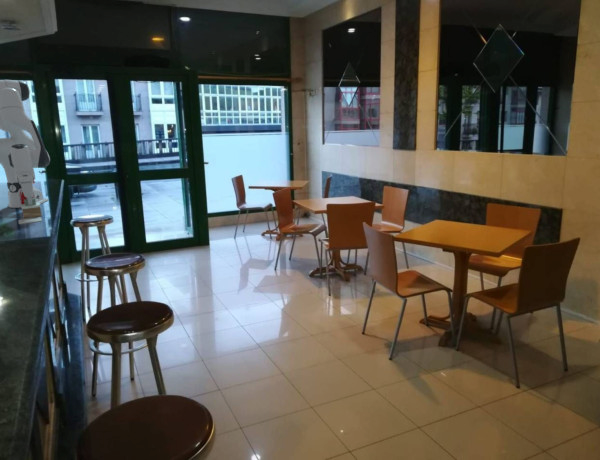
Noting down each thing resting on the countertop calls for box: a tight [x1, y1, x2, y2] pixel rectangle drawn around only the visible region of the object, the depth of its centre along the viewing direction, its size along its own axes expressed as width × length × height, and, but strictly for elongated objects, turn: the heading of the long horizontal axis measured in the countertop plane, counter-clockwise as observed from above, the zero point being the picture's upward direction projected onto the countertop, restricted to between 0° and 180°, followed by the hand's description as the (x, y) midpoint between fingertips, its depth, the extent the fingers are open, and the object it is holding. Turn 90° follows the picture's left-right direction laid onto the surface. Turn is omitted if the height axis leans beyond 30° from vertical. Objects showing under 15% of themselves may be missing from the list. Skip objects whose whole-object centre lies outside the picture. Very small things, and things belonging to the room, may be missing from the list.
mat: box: [17, 216, 43, 225], centre depth 234 cm, size 10×10×1 cm
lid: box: [20, 198, 41, 210], centre depth 243 cm, size 8×8×5 cm
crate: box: [21, 206, 43, 219], centre depth 244 cm, size 8×8×5 cm
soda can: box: [19, 190, 35, 205], centre depth 256 cm, size 7×7×12 cm
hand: (30, 203), depth 243 cm, fingers open, 4 cm apart
